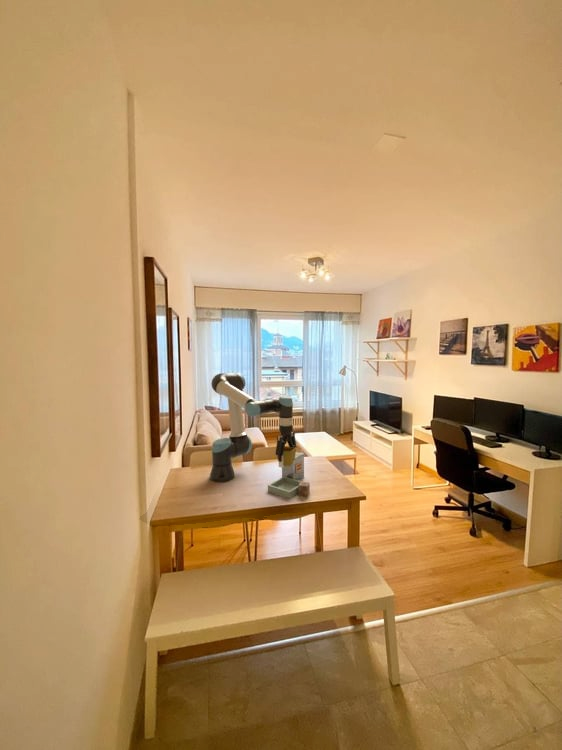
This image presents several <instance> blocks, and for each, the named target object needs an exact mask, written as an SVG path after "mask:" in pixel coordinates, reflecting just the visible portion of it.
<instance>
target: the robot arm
mask: <svg viewBox="0 0 562 750" xmlns="http://www.w3.org/2000/svg"><path fill="white" fill-rule="evenodd" d="M210 384H211V388H212V390H213V391H214V392H215V393H216V394H218V395H220V396H224V397H226V398H227V404H228V405H227V406H228V414H229V424H230V434H229V435H228V437H222V438H217V439H216V440H214V441H213V442H212V444H211V445H212V446H211V453H212V457H211V458H212V460H211V461H212V467H211V470H210V473H209V479H210V480H211V481H212V482H217V483H224V482H229V481H231V480H233V479H235V476H236V474H235V469H234V467H233V464H232V459H233V458H236V457H240V456H245V455H247V454H248V453H250V452H251V450H252V445H253V443H252V439H251V438H250V436H249V435H248V433H247V432H246V431H245V425H244V424H245V423H244V415H243V409H244V412H245V413H246V415H247V416H249V417H256V416H261V415H265V414H270V413H277V414H278V424H279V425H278V427H279V432H280V436H277V437H276V447H275V456H277V455H278V458H277V461H278V467H279V468H281V469H282V468H283V467H284V465H283V455H282V454H283V451H284V447H286V444H288V447H295V448H296V449H297V440H296V432H293V431H294V425H293V423H294V419H293V417H294V416H293V413H294V412H293V409H294V408H293V407H294V403H293V398H292V397H291V396H286V395H285V396H279V398H278V399H277V398H272V397H270V398H267V397H266V398H265V399H263V400H257V399H255V398H253V397H252V396H250V395H248V394H247V393H245V392H244V391H243V390H244V389H245V387H246V378H245V376H244V375H242V373H241V372H224V373H217V374H216V375H215V376H213V378H212V380H211V383H210ZM280 453H281V454H280ZM293 462H294V461H293Z"/></svg>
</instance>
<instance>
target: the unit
mask: <svg viewBox="0 0 562 750" xmlns="http://www.w3.org/2000/svg"><path fill="white" fill-rule="evenodd" d="M282 477H287V478H291V479H294V480H298V481H301V479H303V478H304V477H305V453H303V452H298V451H296V454H295V459H294V462H293V463H292V464H291V465H290V466H284V467H283V468H282V467H281V478H282Z"/></svg>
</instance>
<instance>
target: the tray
mask: <svg viewBox="0 0 562 750" xmlns="http://www.w3.org/2000/svg"><path fill="white" fill-rule="evenodd" d="M300 482H302V481H301V480H294V479H291V478H287V477H282V476H281V477H280V478H279V479H277V480H274V481H272V482H271V483H269V484H268V485H267V492H269V493H272V494H275V495H277V496H281V497H284V498H286V499H288V500H289V499H292V498H293V497H294V496H297V494H298V495H299V493H298V485H299V483H300Z"/></svg>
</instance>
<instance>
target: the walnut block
mask: <svg viewBox="0 0 562 750" xmlns="http://www.w3.org/2000/svg"><path fill="white" fill-rule="evenodd" d="M310 492H311V491H310V482H307V481H301V482H300V483H299V485H298V497H303V498H309V495H310Z"/></svg>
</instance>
